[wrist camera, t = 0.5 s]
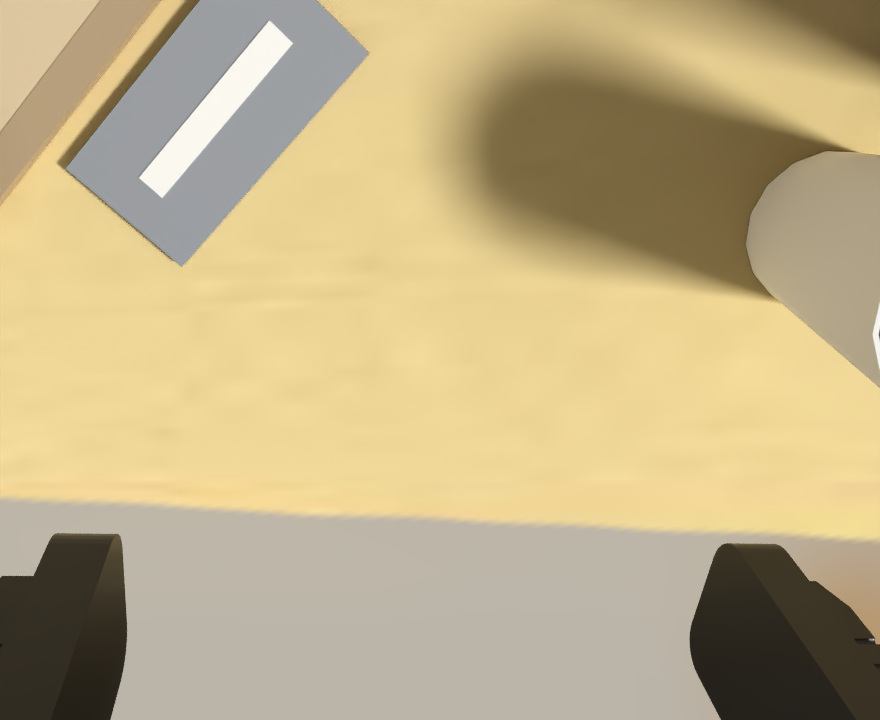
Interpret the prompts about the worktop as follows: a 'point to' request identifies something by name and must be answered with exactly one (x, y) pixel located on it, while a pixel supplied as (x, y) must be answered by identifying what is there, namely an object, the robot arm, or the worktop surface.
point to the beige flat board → (169, 102)
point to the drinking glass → (825, 250)
